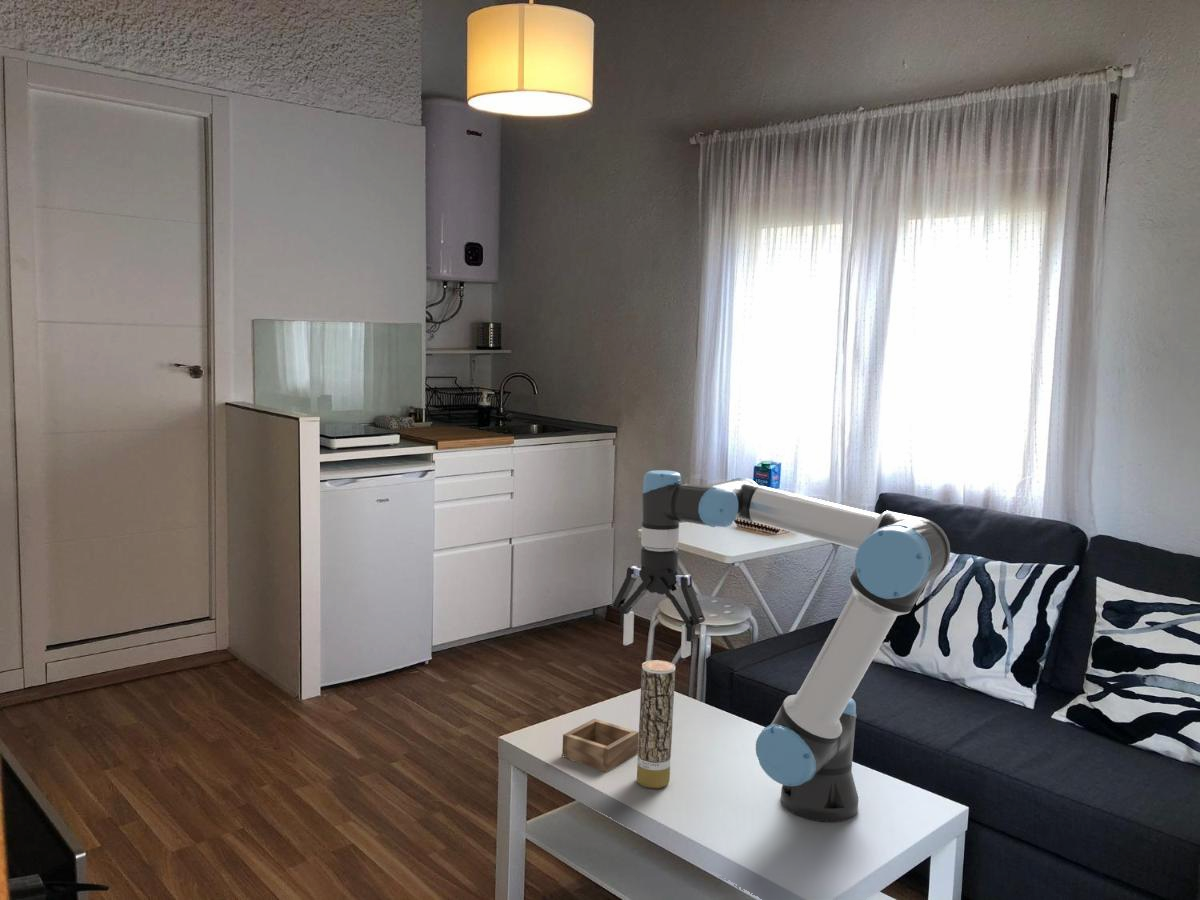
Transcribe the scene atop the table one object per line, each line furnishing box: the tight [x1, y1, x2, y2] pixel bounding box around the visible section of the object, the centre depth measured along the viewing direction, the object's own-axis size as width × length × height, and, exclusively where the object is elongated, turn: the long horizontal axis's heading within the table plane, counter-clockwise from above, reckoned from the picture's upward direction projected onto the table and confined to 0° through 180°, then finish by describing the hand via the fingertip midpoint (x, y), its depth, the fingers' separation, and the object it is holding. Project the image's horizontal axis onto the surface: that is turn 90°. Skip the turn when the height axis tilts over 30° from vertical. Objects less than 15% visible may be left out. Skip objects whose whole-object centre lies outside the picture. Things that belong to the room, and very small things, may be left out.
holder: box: [561, 718, 639, 773], centre depth 220 cm, size 12×12×5 cm
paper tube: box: [636, 659, 676, 789], centre depth 207 cm, size 7×7×25 cm
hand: (656, 650), depth 205 cm, fingers open, 13 cm apart
